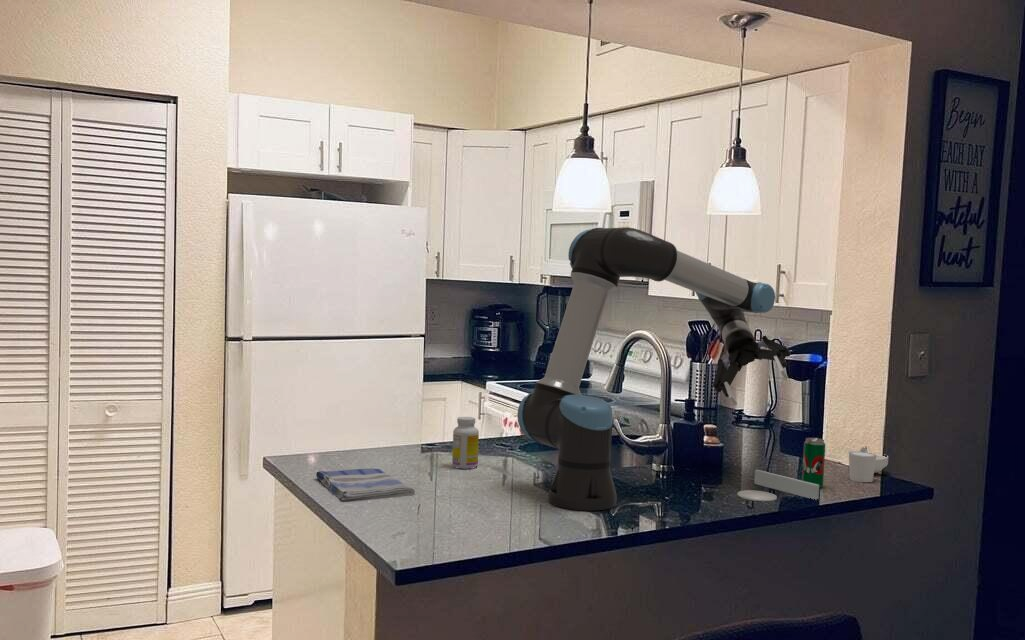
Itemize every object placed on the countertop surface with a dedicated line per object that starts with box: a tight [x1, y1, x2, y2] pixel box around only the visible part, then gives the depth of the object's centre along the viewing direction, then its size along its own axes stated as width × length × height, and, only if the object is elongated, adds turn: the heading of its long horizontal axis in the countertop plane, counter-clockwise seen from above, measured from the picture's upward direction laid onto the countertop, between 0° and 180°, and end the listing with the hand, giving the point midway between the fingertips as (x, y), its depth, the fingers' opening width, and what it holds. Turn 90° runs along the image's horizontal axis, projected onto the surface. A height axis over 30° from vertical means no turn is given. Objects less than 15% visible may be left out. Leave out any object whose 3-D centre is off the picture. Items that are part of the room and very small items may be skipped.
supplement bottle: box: [451, 416, 480, 469], centre depth 228 cm, size 7×7×13 cm
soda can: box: [801, 437, 826, 489], centre depth 220 cm, size 5×5×12 cm
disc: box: [737, 489, 778, 503], centre depth 208 cm, size 9×9×1 cm
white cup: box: [848, 451, 877, 483], centre depth 230 cm, size 7×7×7 cm
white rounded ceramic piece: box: [847, 446, 889, 474], centre depth 240 cm, size 10×12×7 cm
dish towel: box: [315, 468, 416, 502], centre depth 204 cm, size 17×24×3 cm
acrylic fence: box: [753, 469, 820, 501], centre depth 214 cm, size 18×1×4 cm, turn 36°
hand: (758, 388), depth 211 cm, fingers open, 13 cm apart
